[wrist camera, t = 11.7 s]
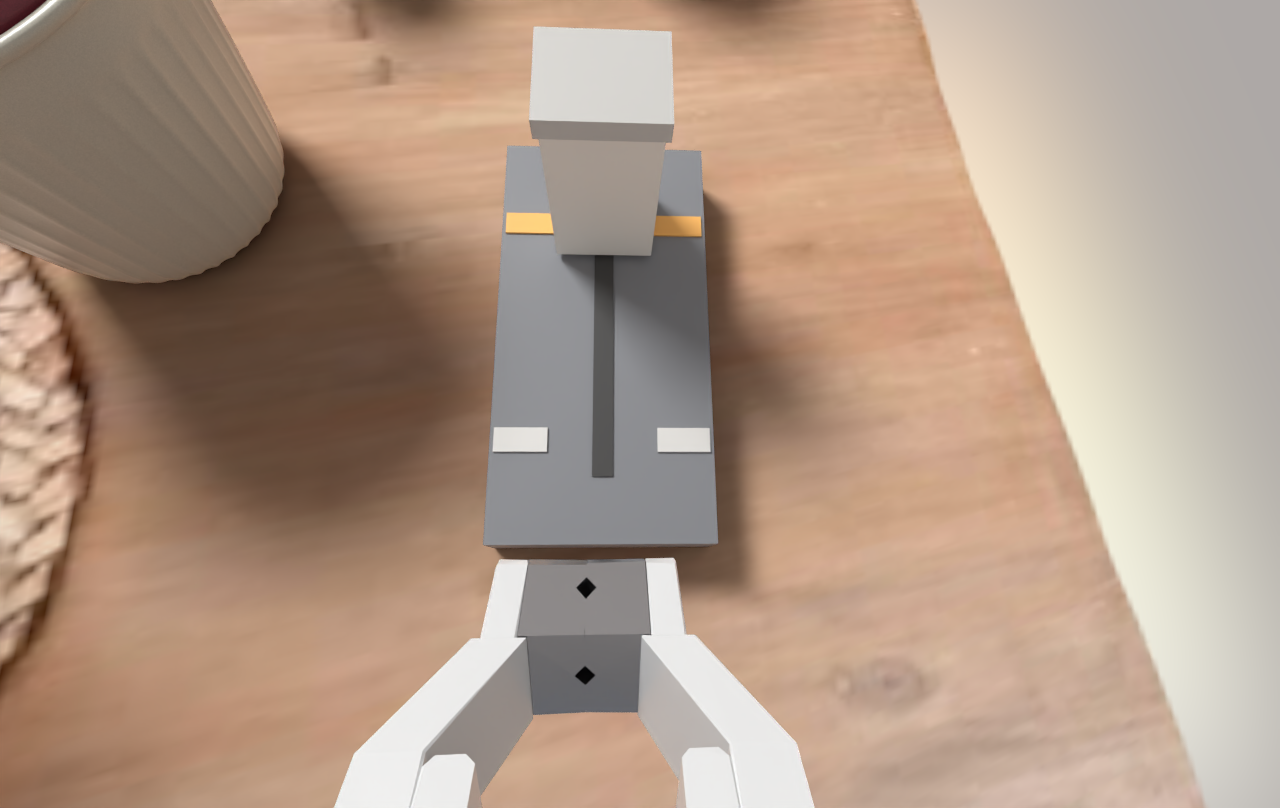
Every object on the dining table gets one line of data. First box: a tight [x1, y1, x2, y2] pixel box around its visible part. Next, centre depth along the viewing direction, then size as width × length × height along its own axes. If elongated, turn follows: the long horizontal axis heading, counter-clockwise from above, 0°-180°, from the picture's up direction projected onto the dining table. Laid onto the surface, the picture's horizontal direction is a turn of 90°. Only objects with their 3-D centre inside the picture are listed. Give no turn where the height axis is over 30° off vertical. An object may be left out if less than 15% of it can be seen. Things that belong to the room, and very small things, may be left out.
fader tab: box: [529, 27, 674, 256], centre depth 28 cm, size 4×5×10 cm
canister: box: [0, 0, 285, 284], centre depth 26 cm, size 18×18×21 cm
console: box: [483, 146, 718, 548], centre depth 33 cm, size 22×11×3 cm, turn 1°
